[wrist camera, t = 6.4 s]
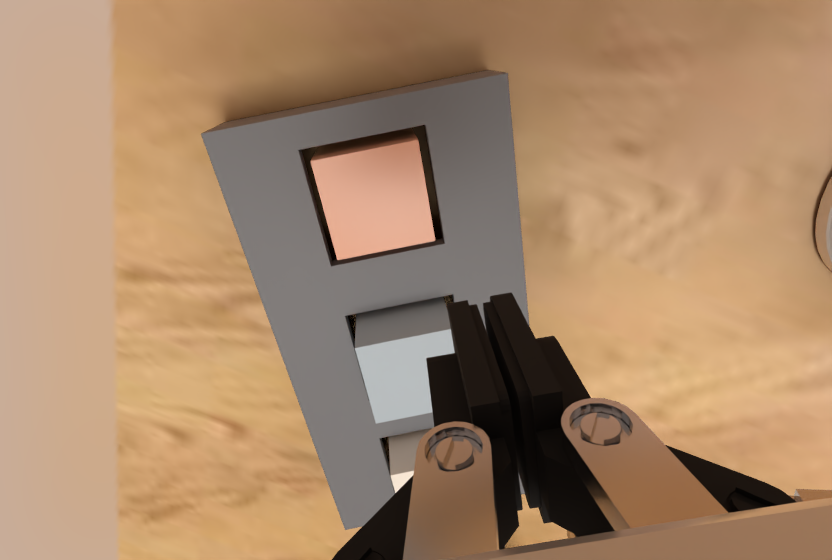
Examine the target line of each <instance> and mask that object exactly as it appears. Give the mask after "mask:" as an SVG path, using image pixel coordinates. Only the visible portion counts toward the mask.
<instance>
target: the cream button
mask: <svg viewBox="0 0 832 560" xmlns="http://www.w3.org/2000/svg"><path fill="white" fill-rule="evenodd" d="M431 429H432V428H429V429H424V430H419V431H414V432H409V433H404V434H399V435H394V436H389V457H390V476H391V479H392V483H393V486H394V490H395V493H396V492H397V491H398V490H399V489H400V488H401V487H402V486H403V485H404V484H405V483H406V482H407V481H408V480H409V479H410V478H411V477H412V476H413V475H414V467H415V459H416V451H417V447H418V444H419V441H420V440H421V439H422V437H423V436H424V435H425V434H426V433H427V432H428V431H430V430H431Z"/></svg>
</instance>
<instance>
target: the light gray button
mask: <svg viewBox="0 0 832 560" xmlns="http://www.w3.org/2000/svg"><path fill="white" fill-rule="evenodd" d="M355 351H356V354H357V358H358V362H359V365H360V369H361V372H362V376H363V379H364V383H365V387H366V390H367V394H368V397H369V401H370V404H371V408H372V411H373V415H374V419H375V422H376V424H377V423H382V422H387V421H392V420H397V419H402V418H407V417H412V416H417V415H422V414H427V413H431V412H432V404H431V395H430V387H429V378H428V370H427V361H426V358H429V357H435V356H440V355H446V354H452V353H455V352H454V346H453V340H452V334H451V328H450V322H449V316H448V310H447V307H446V304H445V301H444V297H443V296H442V297H437V298H432V299H427V300H422V301H417V302H412V303H407V304H402V305H397V306H392V307H387V308H382V309H377V310H372V311H367V312H362V313H357V314H356V332H355Z"/></svg>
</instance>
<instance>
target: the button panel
mask: <svg viewBox="0 0 832 560" xmlns="http://www.w3.org/2000/svg"><path fill="white" fill-rule="evenodd" d="M421 125H424V126H425V132H426V138H427V144H428V150H429V156H430V163H431V169H432V175H433V181H434V187H435V193H436V199H437V205H438V212H439V218H440V224H441V230H442V236H443V238H442V239H437V240H435V241H432V242H427V243H422V244H417V245H412V246H407V247H402V248H397V249H392V250H387V251H382V252H377V253H372V254H367V255H362V256H357V257H352V258H347V259H342V260H337V259H336V260H332V259H331V255H330V251H329V248H328V244H327V241H326V237H325V233H324V230H323V226H322V223H321V219H320V216H319V212H318V208H317V205H316V201H315V198H314V194H313V190H312V187H311V183H310V180H309V176H308V172H307V169H306V165H305V162H304V158H303V154H302V151H301V149H305V148H311V147H316V146H321V145H326V144H331V143H336V142H341V141H346V140H351V139H356V138H361V137H366V136H371V135H376V134H381V133H386V132H391V131H396V130H401V129H406V128H411V127H416V126H421ZM201 135H202V138H203V141H204V144H205V146H206V149H207V152H208V155H209V157H210V160H211V163H212V166H213V168H214V171H215V174H216V177H217V179H218V182H219V185H220V188H221V190H222V193H223V196H224V199H225V201H226V204H227V207H228V210H229V212H230V215H231V218H232V221H233V223H234V226H235V229H236V231H237V234H238V237H239V240H240V242H241V245H242V248H243V251H244V253H245V256H246V259H247V262H248V264H249V267H250V270H251V273H252V275H253V278H254V281H255V284H256V286H257V289H258V292H259V295H260V297H261V300H262V303H263V306H264V308H265V311H266V314H267V317H268V319H269V322H270V325H271V328H272V330H273V333H274V336H275V339H276V341H277V344H278V347H279V350H280V352H281V355H282V358H283V360H284V363H285V366H286V369H287V371H288V374H289V377H290V380H291V382H292V385H293V388H294V391H295V393H296V396H297V399H298V402H299V404H300V407H301V410H302V413H303V415H304V418H305V421H306V424H307V426H308V429H309V432H310V435H311V437H312V440H313V443H314V446H315V448H316V451H317V454H318V457H319V459H320V462H321V465H322V468H323V470H324V473H325V476H326V478H327V481H328V484H329V487H330V489H331V492H332V495H333V498H334V500H335V503H336V506H337V509H338V511H339V514H340V517H341V520H342V522H343V525H344V528H345V530H347V529H352V528H357V527H362V526H364V525H365V524H366V523H367V522H368V521H369V520H370V519H371V518H372V517H373V516H374V515H375V514H376V513H377V512H378V511H379V509H380V508H381V507H382V506H383V505H384V504H385V503H386V502H387V501H388V500H389V499H390V498H391V497H392V496H393V495H394V494H395V490H394V486H393V483H392V479H391V476H390V467H389V463H388V460H387V456H386V452H385V449H384V445H383V442H382V438H384V437H389V436H394V435H399V434H404V433H409V432H414V431H419V430H424V429H429V428H434V420H433V412H431V413H427V414H422V415H417V416H412V417H407V418H402V419H397V420H392V421H387V422H382V423H377V424H376V422H375V419H374V415H373V411H372V408H371V404H370V401H369V397H368V394H367V390H366V387H365V383H364V379H363V376H362V372H361V369H360V365H359V362H358V358H357V354H356V351H355V341H354V338H353V334H352V330H351V327H350V323H349V320H348V316H347V315H352V314H357V313H362V312H367V311H372V310H377V309H382V308H387V307H392V306H397V305H402V304H407V303H412V302H417V301H422V300H427V299H432V298H437V297H442V296H447V295H452V297H453V303H454V302H459V301H465V300H468V303H469V305H474V304H477V306H478V309H479V312H480V315H481V318H482V320H483V323H484V326H485V318H484V310H483V303H485V302H490V296H493V295H499V294H504V293H510V292H512V294H513V296H514V298H515V299H516V301H517V303H518V305H519V307H520V309H521V311H522V313H523V315H524V317H525V319H526V321H527V323H528V325H529V317H528V305H527V294H526V282H525V270H524V258H523V247H522V235H521V223H520V212H519V200H518V188H517V176H516V165H515V153H514V141H513V129H512V118H511V106H510V94H509V82H508V73H504V72H497V71H491V70H486V71H481V72H476V73H470V74H465V75H460V76H455V77H450V78H445V79H440V80H435V81H430V82H425V83H420V84H415V85H410V86H405V87H400V88H395V89H390V90H385V91H380V92H375V93H370V94H364V95H359V96H354V97H349V98H344V99H339V100H334V101H329V102H324V103H319V104H314V105H309V106H304V107H299V108H294V109H289V110H284V111H279V112H274V113H269V114H264V115H258V116H253V117H248V118H243V119H238V120H233V121H228V122H224V123H222V124H220V125H218V126H216V127H214V128H212V129H210V130H208V131H206V132H204V133H202V134H201ZM485 329H486V326H485ZM519 482H520V491H521V494H525V492H524V489H523V486H522V482H521V479H520V476H519Z"/></svg>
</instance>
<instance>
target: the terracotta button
mask: <svg viewBox="0 0 832 560" xmlns="http://www.w3.org/2000/svg"><path fill="white" fill-rule="evenodd" d="M310 162H311V166H312V169H313V173H314V177H315V180H316V184H317V188H318V191H319V195H320V199H321V202H322V206H323V210H324V213H325V217H326V221H327V224H328V228H329V231H330V235H331V239H332V242H333V246H334V250H335V253H336V257H337V260H342V259H347V258H352V257H357V256H362V255H367V254H372V253H377V252H382V251H387V250H392V249H397V248H402V247H407V246H412V245H417V244H422V243H427V242H432V241H435V235H434V229H433V224H432V218H431V212H430V206H429V200H428V194H427V188H426V183H425V177H424V171H423V165H422V159H421V153H420V147H419V142H418V139H417V137H416V135H415V133H414V132H413V130H412V128H406V129H401V130H396V131H391V132H386V133H381V134H376V135H371V136H366V137H361V138H356V139H351V140H346V141H341V142H336V143H331V144H326V145H321V146H318V148H317V150H316V152H315V153H314V155H313V157H312V159H311V161H310Z"/></svg>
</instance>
